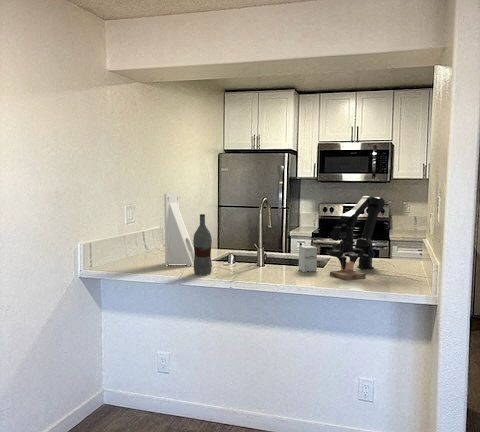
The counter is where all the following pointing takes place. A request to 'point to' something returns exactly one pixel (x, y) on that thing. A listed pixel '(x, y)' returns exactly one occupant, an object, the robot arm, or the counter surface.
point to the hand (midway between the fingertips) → (347, 269)
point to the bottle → (202, 248)
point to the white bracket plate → (176, 233)
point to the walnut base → (347, 274)
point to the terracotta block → (349, 265)
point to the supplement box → (308, 258)
